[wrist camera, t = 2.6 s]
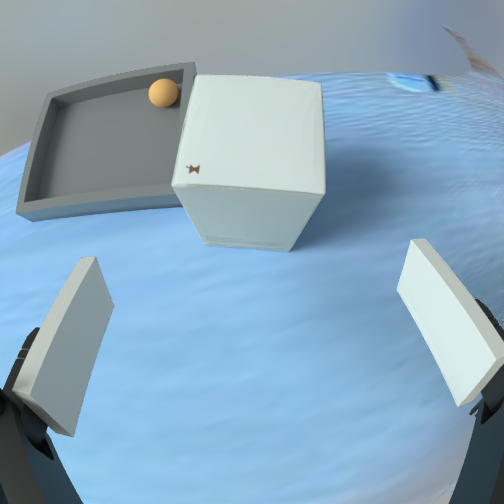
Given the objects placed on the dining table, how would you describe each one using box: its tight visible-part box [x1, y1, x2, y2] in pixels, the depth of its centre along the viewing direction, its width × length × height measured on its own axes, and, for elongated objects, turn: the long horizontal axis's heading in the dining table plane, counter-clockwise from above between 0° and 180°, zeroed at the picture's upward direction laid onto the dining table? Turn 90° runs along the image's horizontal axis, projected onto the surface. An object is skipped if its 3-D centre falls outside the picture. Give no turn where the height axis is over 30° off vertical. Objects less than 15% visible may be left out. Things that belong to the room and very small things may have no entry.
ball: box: [149, 79, 179, 107], centre depth 26 cm, size 3×3×3 cm
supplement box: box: [171, 74, 326, 252], centre depth 20 cm, size 7×7×13 cm
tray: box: [16, 62, 197, 222], centre depth 26 cm, size 18×15×3 cm
